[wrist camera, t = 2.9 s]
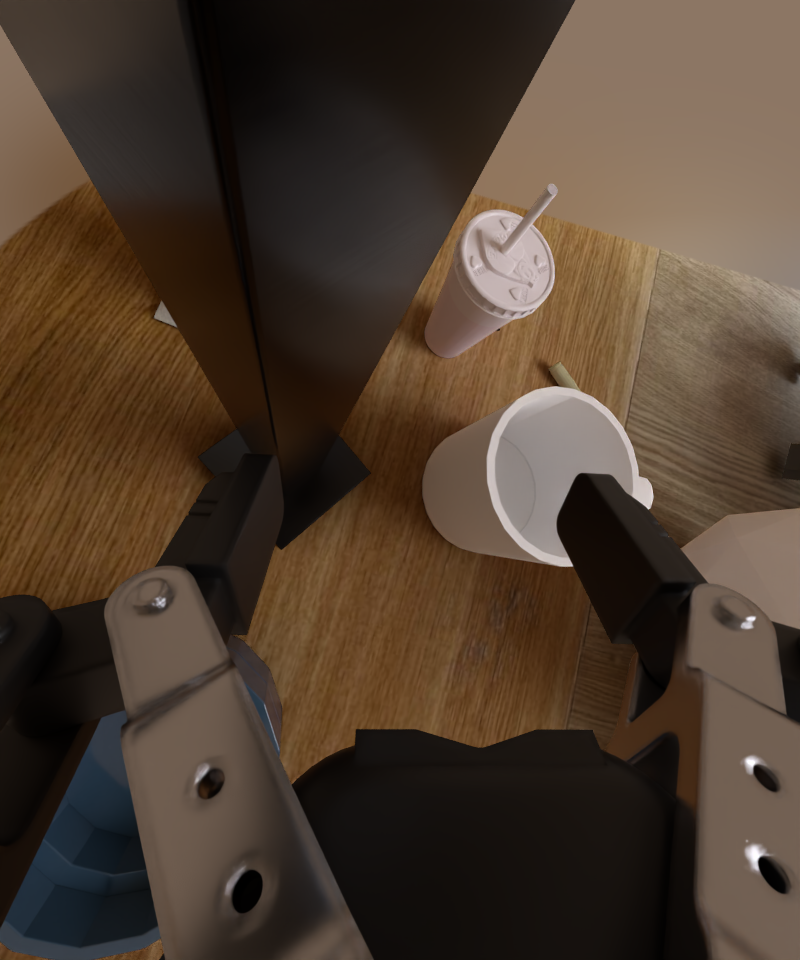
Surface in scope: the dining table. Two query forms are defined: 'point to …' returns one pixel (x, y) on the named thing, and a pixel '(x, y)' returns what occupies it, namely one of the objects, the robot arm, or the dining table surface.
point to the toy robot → (792, 463)
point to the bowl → (105, 849)
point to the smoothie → (492, 278)
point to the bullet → (562, 376)
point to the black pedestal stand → (284, 182)
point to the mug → (525, 473)
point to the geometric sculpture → (754, 560)
